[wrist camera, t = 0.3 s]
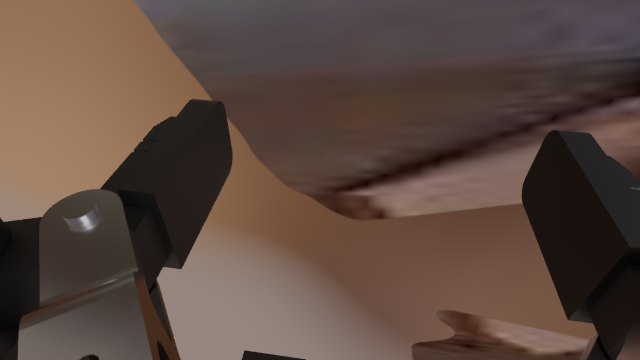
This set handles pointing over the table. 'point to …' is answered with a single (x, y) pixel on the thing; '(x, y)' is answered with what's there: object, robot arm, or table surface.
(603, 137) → the table surface
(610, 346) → the robot arm
